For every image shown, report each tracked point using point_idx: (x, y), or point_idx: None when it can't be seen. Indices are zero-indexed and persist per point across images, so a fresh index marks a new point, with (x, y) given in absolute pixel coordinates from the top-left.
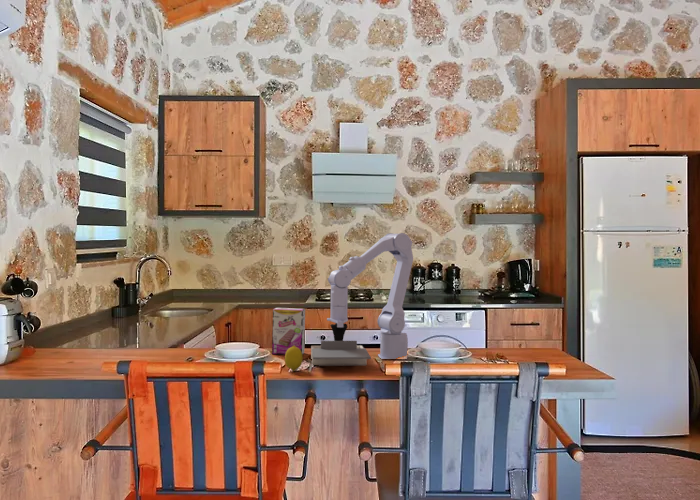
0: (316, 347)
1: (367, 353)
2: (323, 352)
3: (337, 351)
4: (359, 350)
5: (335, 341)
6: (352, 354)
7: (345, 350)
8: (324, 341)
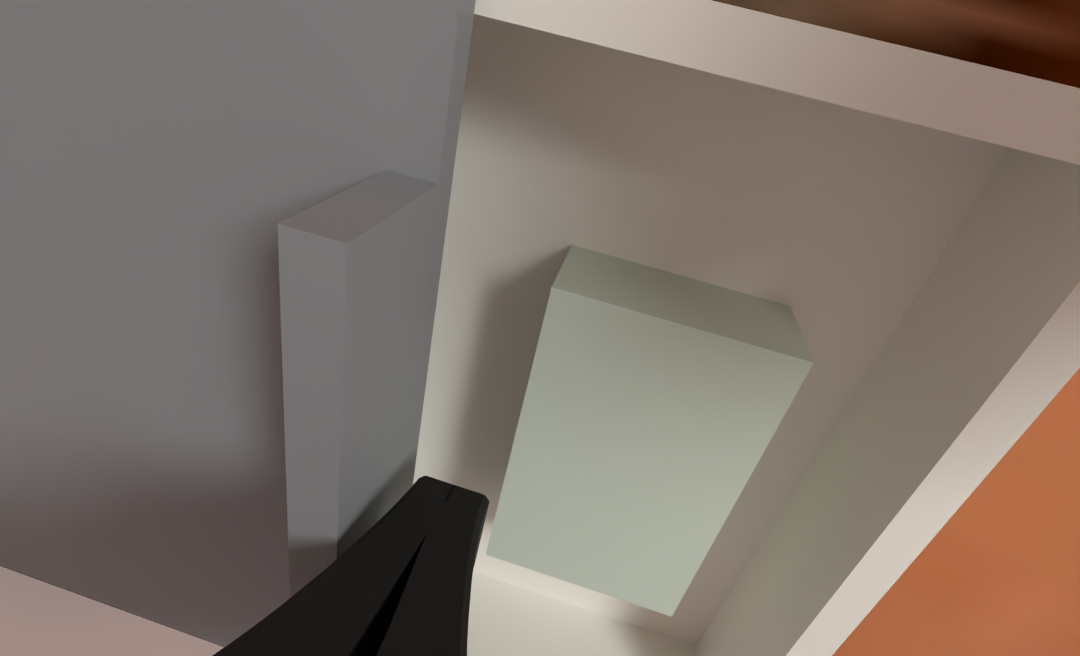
0: (1073, 247)
1: (95, 594)
2: (31, 105)
3: (159, 367)
4: (249, 609)
5: (292, 518)
6: (4, 453)
7: (243, 488)
8: (290, 311)
